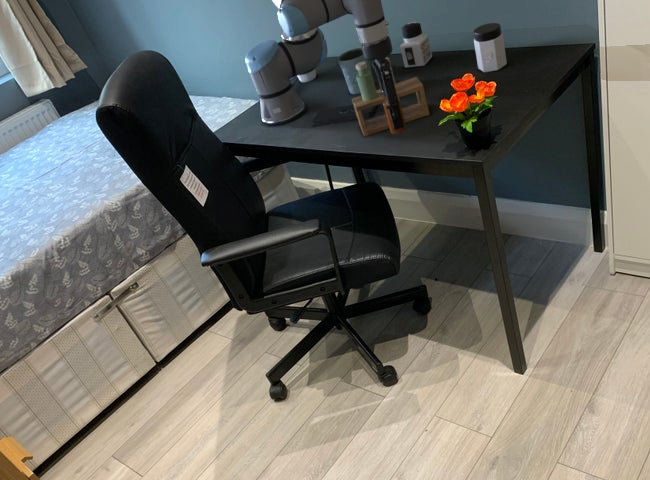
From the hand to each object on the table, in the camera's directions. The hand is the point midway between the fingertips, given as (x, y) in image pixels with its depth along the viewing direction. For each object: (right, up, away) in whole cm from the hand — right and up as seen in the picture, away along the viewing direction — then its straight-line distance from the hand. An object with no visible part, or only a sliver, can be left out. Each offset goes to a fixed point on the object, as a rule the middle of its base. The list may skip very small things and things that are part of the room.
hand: (397, 124), depth 173 cm
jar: (+31, +25, +25) cm, 47 cm away
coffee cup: (-31, +35, +65) cm, 80 cm away
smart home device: (-15, +10, +27) cm, 32 cm away
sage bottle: (-7, +10, +8) cm, 15 cm away
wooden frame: (0, +5, +13) cm, 14 cm away
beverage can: (-1, +16, +28) cm, 33 cm away
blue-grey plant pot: (-10, +23, +41) cm, 48 cm away
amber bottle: (0, -1, +1) cm, 2 cm away
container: (+10, +34, +46) cm, 58 cm away
